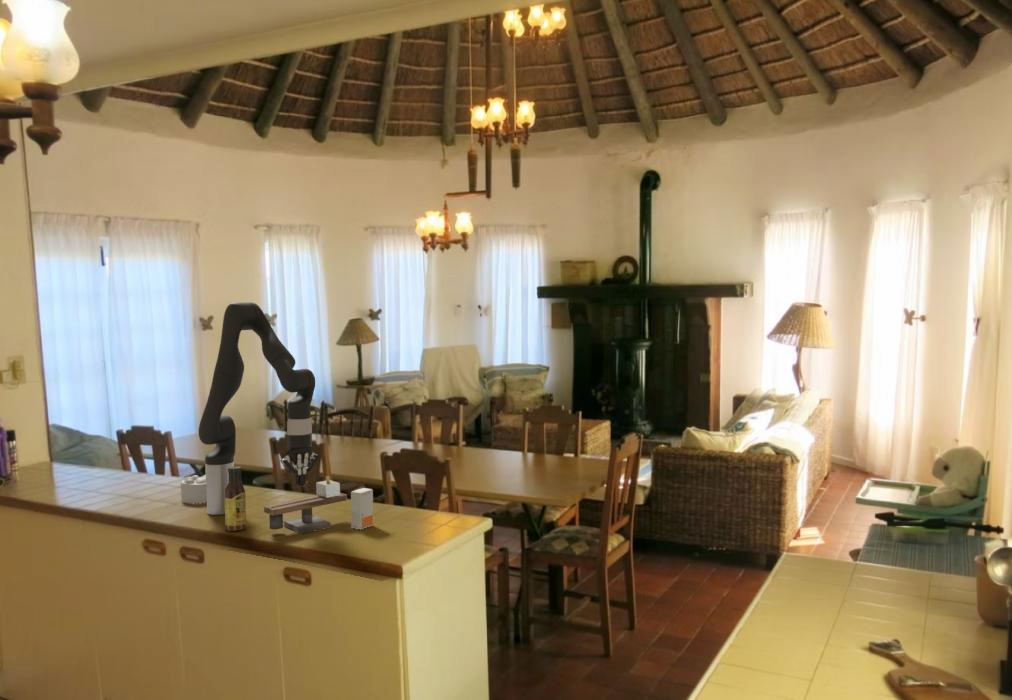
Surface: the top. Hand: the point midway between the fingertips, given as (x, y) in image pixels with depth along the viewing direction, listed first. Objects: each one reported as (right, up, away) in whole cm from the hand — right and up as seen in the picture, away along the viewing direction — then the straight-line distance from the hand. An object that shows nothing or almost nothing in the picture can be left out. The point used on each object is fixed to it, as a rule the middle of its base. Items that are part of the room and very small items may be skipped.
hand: (300, 485), depth 242 cm
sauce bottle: (-21, -14, 0) cm, 25 cm away
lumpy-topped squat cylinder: (-48, -12, +38) cm, 62 cm away
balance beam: (+2, -14, +1) cm, 14 cm away
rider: (+7, -6, +6) cm, 11 cm away
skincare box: (+20, -14, 0) cm, 24 cm away
